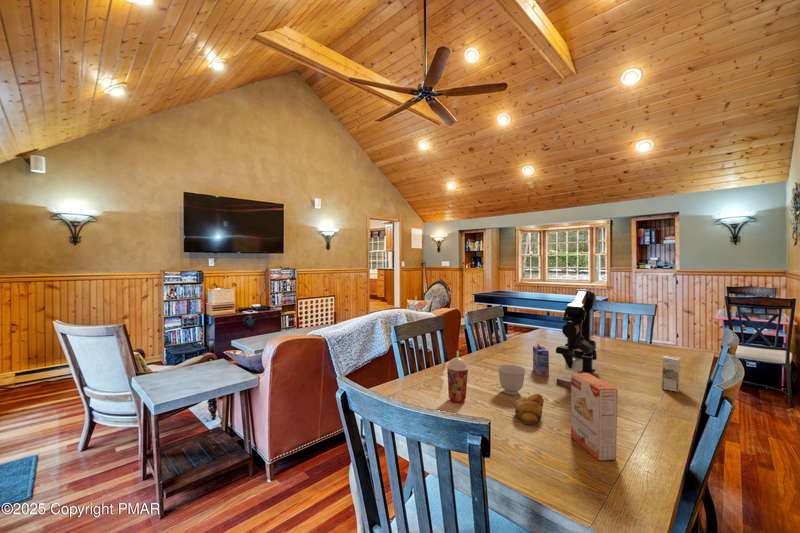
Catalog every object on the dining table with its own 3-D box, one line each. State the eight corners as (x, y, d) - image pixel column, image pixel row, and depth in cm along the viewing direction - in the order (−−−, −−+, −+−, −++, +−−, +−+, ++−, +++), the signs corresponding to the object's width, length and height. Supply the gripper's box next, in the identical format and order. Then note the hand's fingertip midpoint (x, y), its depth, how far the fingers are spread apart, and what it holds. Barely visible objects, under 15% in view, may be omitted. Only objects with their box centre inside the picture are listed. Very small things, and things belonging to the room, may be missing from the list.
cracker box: (569, 436, 114) (570, 372, 114) (587, 436, 115) (588, 372, 114) (596, 461, 100) (598, 388, 100) (617, 461, 101) (618, 388, 100)
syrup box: (679, 389, 156) (680, 356, 156) (678, 393, 152) (679, 359, 151) (663, 386, 160) (664, 354, 160) (661, 389, 156) (662, 356, 155)
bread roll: (539, 429, 119) (540, 405, 119) (510, 422, 124) (510, 400, 124) (544, 414, 131) (544, 392, 130) (516, 409, 135) (517, 388, 135)
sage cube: (572, 367, 164) (572, 356, 164) (582, 370, 160) (582, 359, 160) (565, 369, 162) (565, 358, 161) (575, 372, 157) (576, 361, 157)
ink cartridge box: (531, 369, 183) (532, 341, 183) (543, 369, 183) (543, 341, 182) (537, 375, 173) (538, 346, 173) (549, 376, 173) (549, 346, 173)
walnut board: (569, 380, 168) (569, 374, 168) (590, 387, 159) (590, 380, 159) (556, 384, 162) (556, 378, 162) (577, 391, 154) (577, 385, 154)
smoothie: (469, 398, 145) (469, 349, 145) (466, 406, 137) (466, 354, 137) (448, 395, 148) (449, 347, 147) (444, 403, 140) (445, 352, 139)
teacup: (528, 387, 157) (528, 365, 157) (524, 399, 144) (525, 375, 143) (500, 383, 162) (500, 361, 162) (494, 394, 149) (494, 371, 149)
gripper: (579, 339, 148) (578, 376, 149) (604, 334, 158) (603, 369, 159) (555, 334, 158) (554, 368, 159) (580, 329, 168) (579, 362, 168)
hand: (573, 367), depth 161 cm, fingers closed on sage cube, 5 cm apart
